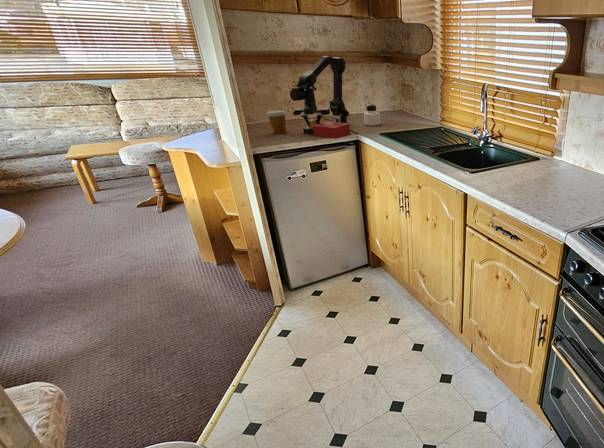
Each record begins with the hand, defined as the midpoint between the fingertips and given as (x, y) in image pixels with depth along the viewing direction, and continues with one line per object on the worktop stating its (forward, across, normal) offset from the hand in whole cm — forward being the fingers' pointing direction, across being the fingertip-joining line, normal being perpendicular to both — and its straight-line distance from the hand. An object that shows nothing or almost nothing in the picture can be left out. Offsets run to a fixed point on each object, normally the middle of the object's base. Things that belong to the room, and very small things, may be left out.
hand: (314, 127), depth 232 cm
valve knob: (0, 0, 0) cm, 0 cm away
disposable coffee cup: (+3, -19, 0) cm, 19 cm away
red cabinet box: (+3, +11, -7) cm, 13 cm away
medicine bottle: (+3, +31, +21) cm, 37 cm away
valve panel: (+3, 0, 0) cm, 3 cm away
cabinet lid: (-2, +11, -7) cm, 13 cm away
